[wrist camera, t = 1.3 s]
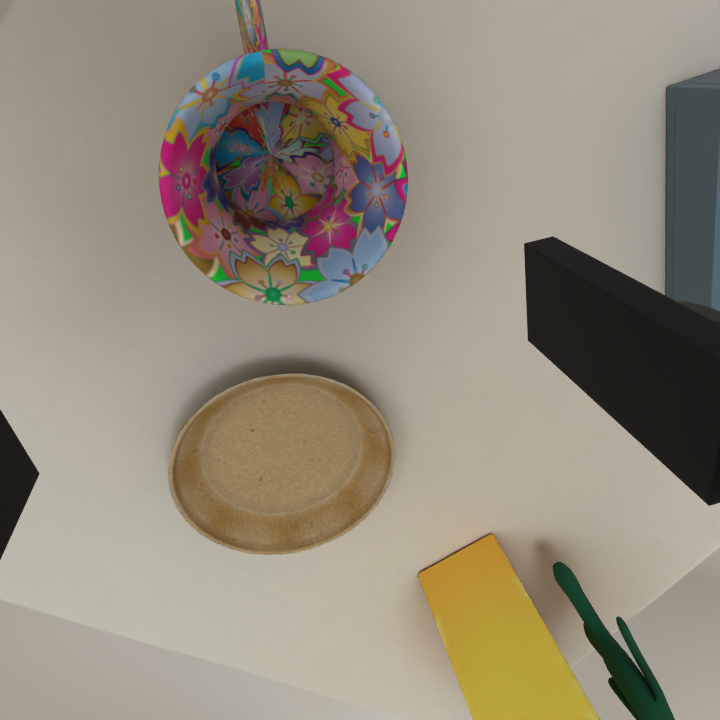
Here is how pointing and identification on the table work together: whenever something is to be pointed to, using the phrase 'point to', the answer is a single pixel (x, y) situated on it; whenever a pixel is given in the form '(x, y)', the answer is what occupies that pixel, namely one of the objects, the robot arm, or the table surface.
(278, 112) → the mug
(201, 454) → the plant saucer
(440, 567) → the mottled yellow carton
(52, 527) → the table surface
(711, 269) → the tub
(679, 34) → the table surface
